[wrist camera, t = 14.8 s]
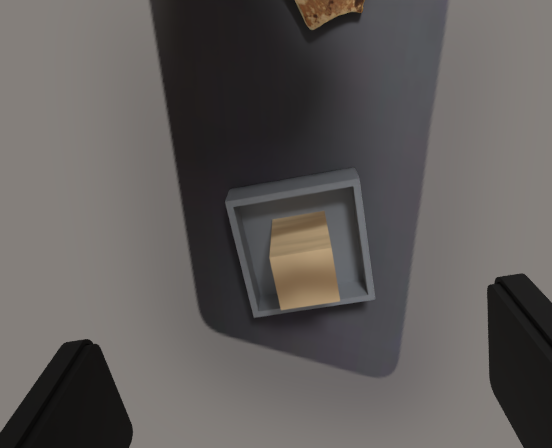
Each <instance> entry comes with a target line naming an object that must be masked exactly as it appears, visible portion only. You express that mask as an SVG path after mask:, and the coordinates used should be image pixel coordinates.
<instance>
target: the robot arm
mask: <svg viewBox="0 0 552 448" xmlns="http://www.w3.org/2000/svg"><path fill="white" fill-rule="evenodd" d="M487 299H488V334H489V335H488V338H489V376H490V383H491V387H492V390H493V392H494V395H495V397H496V398H497V400H498V402H499V404H500V405H501V407H502V409H503V411H504V413H505V415H506V416H507V418H508V420H509V422H510V424H511V425H512V427H513V429H514V431H515V433H516V435H517V436H518V438H519V440H520V442H521V444H522V445H523V447H524V448H552V303H551V302H550V301H549V299H548V298H547V297H546V296H545V295H544V294H543V293H542V292H541V291H540V290H539V289H538V288H537V287H536V285H535V284H534V283H533V282H532V281H531V280H530V279H529V278H528V277H527V276H526V275H525V274H515V275H508V276H502V277H497V278H496V279H495V284H492V285H489V286H488V288H487ZM132 436H133V429H132V424H131V422H130V419H129V417H128V414H127V412H126V409H125V407H124V404H123V402H122V399H121V397H120V395H119V392H118V390H117V387H116V385H115V382H114V380H113V378H112V375H111V373H110V370H109V368H108V365H107V363H106V361H105V358H104V355H103V353H102V351H101V348H100V347H99V345H97V344H93V343H92V341H90V340H88V339H85V340H78V341H72V342H66V343H64V344H63V345H62V346H61V347H60V349H59V350H58V351H57V353H56V354H55V356H54V357H53V359H52V360H51V361H50V363H49V364H48V365H47V367H46V368H45V370H44V371H43V373H42V374H41V375H40V377H39V378H38V380H37V381H36V383H35V384H34V386H33V387H32V388H31V390H30V391H29V393H28V394H27V395H26V397H25V398H24V400H23V401H22V403H21V404H20V405H19V407H18V408H17V410H16V411H15V413H14V414H13V416H12V417H11V418H10V420H9V421H8V423H7V424H6V425H5V427H4V428H3V430H2V431H1V432H0V448H129V446H130V444H131V441H132Z"/></svg>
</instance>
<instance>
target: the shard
mask: <svg viewBox="0 0 552 448" xmlns="http://www.w3.org/2000/svg"><path fill="white" fill-rule="evenodd" d="M364 1H365V0H295V2H296V4H297V6H298V8H299V10H300V13H301V15H302V17H303V19H304V22H305V23H306V25H307V27H309V29H310V30H314V29H316V28H318V27H320V26H321V25H323V24H324V23H326V22H328V21H329V20H331V19H333V18H335V17H337V16H339V15H343V14H346V13H350V12H358V13H362V11H363V3H364Z"/></svg>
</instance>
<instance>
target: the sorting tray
mask: <svg viewBox="0 0 552 448" xmlns="http://www.w3.org/2000/svg"><path fill="white" fill-rule="evenodd" d="M225 204H226V208H227V212H228V216H229V220H230V224H231V228H232V232H233V236H234V240H235V244H236V248H237V252H238V256H239V260H240V264H241V268H242V272H243V276H244V280H245V284H246V288H247V292H248V296H249V300H250V304H251V308H252V312H253V316H254V318H256V317H262V316H269V315H276V314H282V313H289V312H295V311H302V310H309V309H315V308H322V307H329V306H335V305H342V304H349V303H355V302H362V301H369V300H375V293H374V285H373V278H372V270H371V262H370V255H369V247H368V240H367V232H366V224H365V217H364V209H363V201H362V194H361V186H360V179H359V176H358V174H357V172H356V170H355V167H351V168H345V169H340V170H334V171H328V172H323V173H317V174H311V175H306V176H300V177H295V178H289V179H283V180H278V181H272V182H266V183H261V184H255V185H250V186H244V187H238V188H233V189H229V192H228V195H227V197H226V200H225ZM320 211H325V216H326V221H327V227H328V232H329V237H330V242H331V248H332V254H333V260H334V266H335V272H336V278H337V284H338V290H339V296H340V301H339V302H332V303H326V304H319V305H312V306H306V307H299V308H292V309H286V310H281V308H280V304H279V299H278V295H277V290H276V286H275V281H274V277H273V272H272V268H271V263H270V258H269V256H270V244H271V231H272V219H278V218H284V217H290V216H296V215H302V214H308V213H314V212H320Z"/></svg>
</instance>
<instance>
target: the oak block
mask: <svg viewBox="0 0 552 448" xmlns="http://www.w3.org/2000/svg"><path fill="white" fill-rule="evenodd" d="M269 258H270V263H271V268H272V272H273V277H274V281H275V286H276V290H277V295H278V299H279V304H280V308H281V310H286V309H292V308H299V307H306V306H312V305H319V304H326V303H332V302H339V301H340V296H339V290H338V284H337V278H336V272H335V266H334V260H333V254H332V248H331V242H330V237H329V232H328V227H327V221H326V216H325V211H320V212H314V213H308V214H302V215H296V216H290V217H284V218H278V219H272V231H271V244H270V256H269Z"/></svg>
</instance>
